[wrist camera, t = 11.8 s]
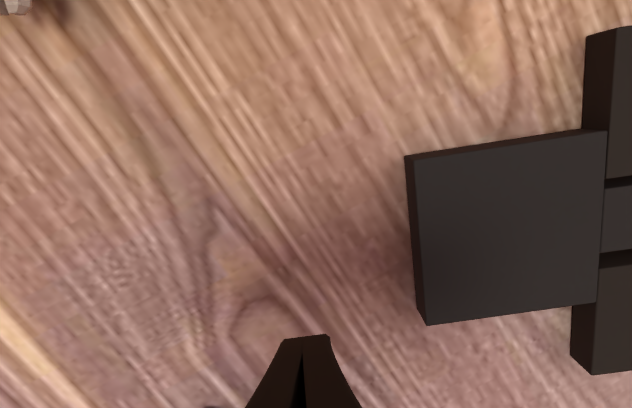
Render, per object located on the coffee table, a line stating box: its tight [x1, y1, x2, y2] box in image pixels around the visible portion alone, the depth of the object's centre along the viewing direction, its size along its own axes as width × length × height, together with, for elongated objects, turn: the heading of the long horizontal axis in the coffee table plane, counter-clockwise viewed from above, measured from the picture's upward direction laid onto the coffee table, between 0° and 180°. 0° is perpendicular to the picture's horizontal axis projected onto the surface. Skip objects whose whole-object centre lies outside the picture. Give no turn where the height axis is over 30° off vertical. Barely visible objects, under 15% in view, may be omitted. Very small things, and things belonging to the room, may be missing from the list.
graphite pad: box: [404, 129, 632, 326], centre depth 16 cm, size 10×8×2 cm
